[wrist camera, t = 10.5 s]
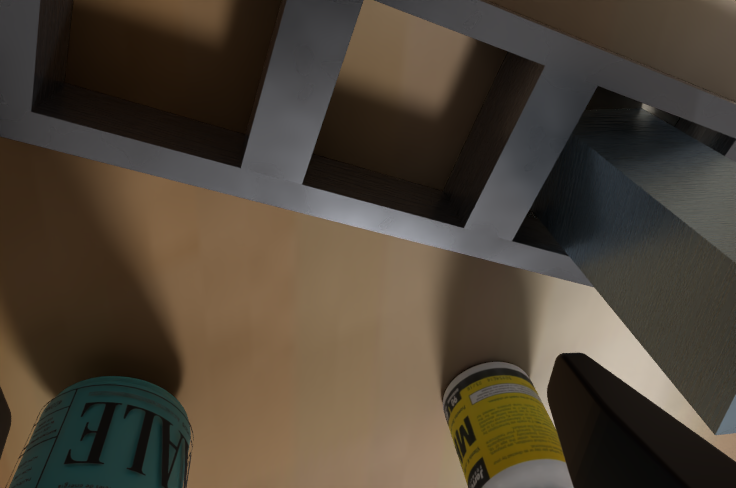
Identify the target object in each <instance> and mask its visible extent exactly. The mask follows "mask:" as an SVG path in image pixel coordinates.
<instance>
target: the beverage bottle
mask: <svg viewBox="0 0 736 488" xmlns="http://www.w3.org/2000/svg"><path fill="white" fill-rule="evenodd" d="M49 402H50V403H49ZM49 402H48V403H49V404H48V403H47V404H48V405H47V404H46V405H47V407H46V408H45V409H44V411H43V413H42V415H41V417H40V419H39V421H38V424H37V426H36V428H35V430H34V433H33V435H32V437H31V439H30V442H29V444H28V445H27V446H26V447H25V448H23V449H26V451H25V453H24V454H23V455H21V456H23V457H22V460H21V462H20V464H19V466H18V469H17V471H16V473H15V475H14V478H13V480H12V482H11V484H10V487H9V488H183V481H184V488H185V486H186V487H187V481H188V475H187V466H188V465H187V459H188V458H189V457H188V450H189V444H190V439H191V436H190V435H191V433H190V427H191V425H190V423H189V420H188V417H187V414H186V412H185V410H184V408H183V406H182V405H181V404H180V402H179V401H178V400H177V399H176V398H175V397H174V396H173V395H171V394H170V393H169V392H167V391H166V390H164V389H163V388H161V387H159V386H157V385H155V384H152V383H150V382H147V381H144V380H140V379H136V378H131V377H123V376H103V377H95V378H90V379H87V380H83V381H80V382H78V383H75V384H73V385H71V386H69V387H67V388H66V389H65V390H63V391H62V392H60V393H59V394H58V395H57V396H56V397H55V398H54V399H52V400H51V401H49ZM46 405H45V406H46ZM45 406H44V407H45ZM41 410H42V409H41ZM40 412H41V411H40ZM39 414H40V413H39ZM38 416H39V415H38ZM37 418H38V417H37ZM35 425H36V424H34V426H35ZM189 425H190V426H189ZM34 426H33V427H34ZM32 429H33V428H32ZM191 430H192V428H191ZM192 433H193V431H192ZM29 436H30V435H29ZM28 438H29V437H28ZM27 440H28V439H27ZM193 441H194V437H193ZM26 442H27V441H26ZM191 444H192V440H191ZM192 448H193V446H192ZM22 451H24V450H22ZM191 451H192V450H191ZM21 453H22V452H21ZM21 456H20V457H21ZM189 456H190V461H191V453H190V455H189ZM20 457H19V458H20ZM18 460H19V459H18ZM17 462H18V461H17ZM16 464H17V463H16ZM15 466H16V465H15ZM189 467H190V462H189ZM12 473H13V472H12ZM188 474H189V468H188ZM11 475H12V474H11ZM186 475H187V480H186ZM10 477H11V476H10ZM9 479H10V478H9ZM7 484H8V483H7ZM6 486H7V485H6ZM5 488H6V487H5Z"/></svg>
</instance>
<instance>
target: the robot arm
mask: <svg viewBox="0 0 736 488" xmlns="http://www.w3.org/2000/svg"><path fill="white" fill-rule="evenodd" d="M547 398H548V403H549V406H550V410H551V413H552V417H553V420H554V424H555V427H556V431H557V434H558V437H559V441H560V444H561V448H562V451H563V455H564V458H565V462H566V465H567V468H568V472H569V475H570V478H571V481H572V484H573V487H574V488H736V462H735V461H734V460H733V459H731V458H730V457H728V456H727V455H726V454H724V453H723V452H721V451H720V450H719V449H717V448H716V447H714V446H713V445H712V444H710V443H709V442H707V441H706V440H705V439H703V438H702V437H700V436H699V435H698V434H696V433H695V432H693V431H692V430H691V429H689V428H688V427H686V426H685V425H684V424H682V423H681V422H679V421H678V420H677V419H675V418H674V417H672V416H671V415H670V414H668V413H667V412H665V411H664V410H663V409H661V408H660V407H658V406H657V405H656V404H654V403H653V402H651V401H650V400H649V399H647V398H646V397H644V396H643V395H642V394H640V393H639V392H637V391H636V390H635V389H633V388H632V387H630V386H629V385H628V384H626V383H625V382H623V381H622V380H621V379H619V378H618V377H616V376H615V375H614V374H612V373H611V372H609V371H608V370H607V369H605V368H604V367H602V366H601V365H600V364H598V363H597V362H595V361H594V360H593V359H591V358H590V357H588V356H587V355H585V354H583V353H562V354H560V355H558V357H557V358H556V360H555V364H554V367H553V371H552V374H551V377H550V381H549V384H548V388H547ZM10 426H11V412H10V409H9V407H8V404H7V402H6V399H5V397H4V394H3V392H2V389H1V387H0V458H1V455H2V452H3V449H4V446H5V443H6V439H7V436H8V433H9V430H10Z"/></svg>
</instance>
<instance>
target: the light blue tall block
mask: <svg viewBox="0 0 736 488" xmlns="http://www.w3.org/2000/svg"><path fill="white" fill-rule="evenodd" d="M530 209H531V210H532V211H533V213H534V214H535V215H536V216H537V218H538V219H539V220H540V221H541V222H542V224H543V225H544V226H545V227H546V229H547V230H548V231H549V232H550V233H551V235H552V236H553V237H554V238H555V240H556V241H557V242H558V243H559V245H560V246H561V247H562V248H563V249H564V251H565V252H566V253H567V254H568V256H569V257H570V258H571V259H572V260H573V262H574V263H575V264H576V265H577V267H578V268H579V269H580V270H581V271H582V273H583V274H584V275H585V276H586V278H587V279H588V280H589V281H590V282H591V284H592V285H593V286H594V287H595V289H596V290H597V291H598V292H599V294H600V295H601V296H602V297H603V298H604V300H605V301H606V302H607V303H608V305H609V306H610V307H611V308H612V309H613V311H614V312H615V313H616V314H617V316H618V317H619V318H620V319H621V320H622V322H623V323H624V324H625V325H626V327H627V328H628V329H629V330H630V331H631V333H632V334H633V335H634V336H635V338H636V339H637V340H638V341H639V342H640V344H641V345H642V346H643V347H644V349H645V350H646V351H647V352H648V354H649V355H650V356H651V357H652V358H653V360H654V361H655V362H656V363H657V365H658V366H659V367H660V368H661V369H662V371H663V372H664V373H665V374H666V376H667V377H668V378H669V379H670V380H671V382H672V383H673V384H674V385H675V387H676V388H677V389H678V390H679V391H680V393H681V394H682V395H683V396H684V398H685V399H686V400H687V401H688V403H689V404H690V405H691V406H692V407H693V409H694V410H695V411H696V412H697V414H698V415H699V416H700V417H701V418H702V420H703V421H704V422H705V423H706V425H707V426H708V427H709V428H710V429H711V431H712V432H713V433H714V434H715V435H722V434H731V433H736V162H734V161H732V160H731V159H729V158H727V157H725V156H724V155H722V154H720V153H718V152H717V151H715V150H713V149H712V148H710V147H708V146H706V145H705V144H703V143H701V142H699V141H698V140H696V139H694V138H692V137H691V136H689V135H687V134H685V133H684V132H682V131H680V130H679V129H677V128H675V127H673V126H672V125H670V124H668V123H666V122H665V121H663V120H661V119H659V118H658V117H656V116H654V115H653V114H651V113H649V112H647V111H646V110H644V109H642V108H635V109H595V110H584V112H583V114H582V115H581V117H580V119H579V121H578V123H577V124H576V126H575V128H574V130H573V132H572V133H571V135H570V137H569V139H568V141H567V142H566V144H565V146H564V148H563V150H562V151H561V153H560V155H559V157H558V159H557V160H556V162H555V164H554V166H553V168H552V170H551V171H550V173H549V175H548V177H547V179H546V180H545V182H544V184H543V186H542V188H541V189H540V191H539V193H538V195H537V197H536V198H535V200H534V202H533V204H532V206H531V207H530Z"/></svg>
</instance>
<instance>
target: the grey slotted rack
mask: <svg viewBox="0 0 736 488" xmlns="http://www.w3.org/2000/svg"><path fill="white" fill-rule="evenodd" d="M375 1H377V2H380V3H383V4H385V5H388V6H390V7H393V8H396V9H398V10H401V11H404V12H406V13H409V14H411V15H414V16H417V17H419V18H422V19H424V20H427V21H430V22H432V23H435V24H438V25H440V26H443V27H445V28H448V29H451V30H453V31H456V32H458V33H461V34H464V35H466V36H469V37H472V38H474V39H477V40H479V41H482V42H485V43H487V44H490V45H492V46H495V47H498V48H500V49H503V50H506V51H508V53H507V55H506V57H505V59H504V61H503V63H502V65H501V68H500V70H499V72H498V74H497V76H496V78H495V80H494V83H493V85H492V87H491V89H490V91H489V93H488V96H487V98H486V100H485V102H484V104H483V106H482V108H481V111H480V113H479V115H478V117H477V119H476V121H475V123H474V126H473V128H472V130H471V132H470V134H469V136H468V139H467V141H466V143H465V145H464V147H463V149H462V151H461V154H460V156H459V158H458V160H457V162H456V164H455V166H454V169H453V171H452V173H451V175H450V177H449V179H448V182H447V184H446V186H445V188H444V190H443V191H440V190H436V189H433V188H429V187H426V186H422V185H419V184H415V183H412V182H408V181H405V180H402V179H398V178H395V177H391V176H388V175H384V174H381V173H377V172H374V171H370V170H367V169H363V168H360V167H356V166H353V165H349V164H346V163H342V162H339V161H335V160H332V159H328V158H325V157H321V156H318V155H314V154H312V153H313V150H314V147H315V144H316V141H317V138H318V135H319V132H320V129H321V126H322V123H323V120H324V117H325V114H326V111H327V108H328V105H329V102H330V99H331V96H332V93H333V90H334V87H335V84H336V81H337V78H338V75H339V72H340V69H341V66H342V63H343V60H344V57H345V54H346V51H347V48H348V45H349V42H350V39H351V36H352V33H353V30H354V27H355V24H356V21H357V18H358V15H359V12H360V9H361V6H362V3H363V0H281V4H280V7H279V11H278V15H277V19H276V22H275V26H274V30H273V33H272V37H271V41H270V44H269V48H268V52H267V56H266V59H265V63H264V67H263V70H262V74H261V78H260V81H259V85H258V89H257V93H256V96H255V100H254V104H253V107H252V111H251V115H250V119H249V122H248V126H247V130H246V133H245V134H241V133H238V132H234V131H231V130H227V129H224V128H220V127H217V126H213V125H210V124H206V123H203V122H200V121H196V120H193V119H189V118H186V117H182V116H179V115H175V114H172V113H168V112H165V111H161V110H158V109H154V108H151V107H147V106H144V105H140V104H137V103H133V102H130V101H126V100H123V99H119V98H116V97H112V96H109V95H105V94H102V93H99V92H95V91H92V90H88V89H85V88H81V87H78V86H74V85H71V84H67V83H64V82H65V73H66V64H67V54H68V45H69V36H70V27H71V17H72V8H73V0H0V137H4V138H8V139H12V140H16V141H20V142H24V143H28V144H32V145H36V146H40V147H44V148H48V149H52V150H56V151H60V152H63V153H67V154H71V155H75V156H79V157H83V158H87V159H91V160H95V161H99V162H103V163H107V164H111V165H115V166H119V167H123V168H126V169H130V170H134V171H138V172H142V173H146V174H150V175H154V176H158V177H162V178H166V179H170V180H174V181H178V182H182V183H186V184H189V185H193V186H197V187H201V188H205V189H209V190H213V191H217V192H221V193H225V194H229V195H233V196H237V197H241V198H245V199H249V200H252V201H256V202H260V203H264V204H268V205H272V206H276V207H280V208H284V209H288V210H292V211H296V212H300V213H304V214H308V215H312V216H315V217H319V218H323V219H327V220H331V221H335V222H339V223H343V224H347V225H351V226H355V227H359V228H363V229H367V230H371V231H375V232H378V233H382V234H386V235H390V236H394V237H398V238H402V239H406V240H410V241H414V242H418V243H422V244H426V245H430V246H434V247H438V248H442V249H445V250H449V251H453V252H457V253H461V254H465V255H469V256H473V257H477V258H481V259H485V260H489V261H493V262H497V263H501V264H505V265H508V266H512V267H516V268H520V269H524V270H528V271H532V272H536V273H540V274H544V275H548V276H552V277H556V278H560V279H564V280H568V281H571V282H575V283H579V284H583V285H587V286H591V287H594V286H593V285H592V284H591V282H590V281H589V280H588V279H587V278H586V276H585V275H584V274H583V273H582V271H581V270H580V269H579V268H578V267H577V265H576V264H575V263H574V262H573V260H572V259H571V258H570V257H569V256H568V254H567V253H566V252H565V251H564V249H563V248H562V247H561V246H560V245H559V243H558V242H557V241H556V240H555V238H554V237H553V236H552V235H551V233H550V232H549V231H548V230H547V229H546V227H545V226H544V225H543V224H542V222H541V221H540V220H539V219H537V218H534V217H530V216H527V213H528V211H529V209H530V207H531V206H532V204H533V202H534V200H535V198H536V197H537V195H538V193H539V191H540V189H541V188H542V186H543V184H544V182H545V180H546V179H547V177H548V175H549V173H550V171H551V170H552V168H553V166H554V164H555V162H556V160H557V159H558V157H559V155H560V153H561V151H562V150H563V148H564V146H565V144H566V142H567V141H568V139H569V137H570V135H571V133H572V132H573V130H574V128H575V126H576V124H577V123H578V121H579V119H580V117H581V115H582V114H583V112H584V110H585V108H586V106H587V104H588V103H589V101H590V99H591V97H592V95H593V94H594V92H595V90H596V88H597V86H600V87H602V88H605V89H608V90H610V91H613V92H615V93H618V94H621V95H623V96H626V97H629V98H631V99H634V100H636V101H639V102H642V103H644V104H647V105H649V106H652V107H655V108H657V109H660V110H663V111H665V112H668V113H670V114H673V115H676V116H678V117H681V118H680V119H679V121H678V123H677V124H676V126H675V128H677V129H679V130H680V131H682V132H684V133H685V134H687V135H689V136H691V137H692V138H694V139H696V140H698V141H699V142H701V143H703V144H705V145H706V146H708V147H710V148H712V149H713V150H715V151H717V152H718V153H720V154H722V155H724V156H725V157H727V158H729V159H731V160H732V161H734V162H736V102H734V101H732V100H729V99H727V98H725V97H722V96H720V95H717V94H715V93H712V92H710V91H707V90H705V89H702V88H700V87H698V86H695V85H693V84H690V83H688V82H685V81H683V80H680V79H678V78H675V77H673V76H671V75H668V74H666V73H663V72H661V71H658V70H656V69H653V68H651V67H648V66H646V65H644V64H641V63H639V62H636V61H634V60H631V59H629V58H626V57H624V56H621V55H619V54H617V53H614V52H612V51H609V50H607V49H604V48H602V47H599V46H597V45H594V44H592V43H590V42H587V41H585V40H582V39H580V38H577V37H575V36H572V35H570V34H567V33H565V32H563V31H560V30H558V29H555V28H553V27H550V26H548V25H545V24H543V23H540V22H538V21H536V20H533V19H531V18H528V17H526V16H523V15H521V14H518V13H516V12H513V11H511V10H509V9H506V8H504V7H501V6H499V5H496V4H494V3H491V2H489V1H487V0H375Z"/></svg>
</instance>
